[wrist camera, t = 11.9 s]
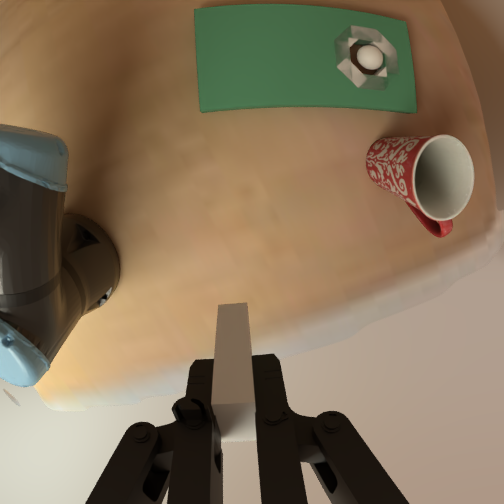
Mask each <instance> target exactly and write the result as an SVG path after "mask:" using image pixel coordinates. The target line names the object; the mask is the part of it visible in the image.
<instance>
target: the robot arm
mask: <svg viewBox="0 0 504 504" xmlns="http://www.w3.org/2000/svg"><path fill="white" fill-rule="evenodd" d="M67 164H68V148H67V146H66V144H65V142H64V141H63V140H62V139H61V138H59V137H57V136H55V135H52V134H49V133H45V132H41V131H37V130H33V129H28V128H23V127H17V126H11V125H4V124H0V378H2V379H3V380H5V381H7V382H9V383H11V384H13V385H16V386H20V387H28V386H33V385H35V384H36V383H37V382H38V381H39V380H40V379H41V377H42V376H43V375H44V374H45V373H46V371H48V370H49V368H50V364H51V362H52V361H53V359H54V357H55V356H56V354H57V353H58V351H59V350H60V348H61V346H62V345H63V343H64V342H65V340H66V339H67V337H68V336H69V334H70V333H71V331H72V330H73V328H74V327H75V325H76V324H77V322H78V321H79V319H80V318H81V317H82V316H84V315H85V314H87V313H89V312H91V311H93V310H95V309H97V308H99V307H100V306H102V305H103V304H104V303H105V302H106V301H107V300H108V299H109V298H110V296H111V295H112V293H113V292H114V290H115V289H116V287H117V284H118V281H119V274H120V267H119V260H118V256H117V252H116V250H115V247H114V245H113V243H112V242H111V240H110V238H109V237H108V235H107V234H106V233H105V232H104V230H103V229H102V228H101V227H100V226H98V225H97V224H96V223H95V222H93V221H92V220H90V219H88V218H86V217H84V216H81V215H77V214H64V215H63V211H64V201H65V192H66V191H67V184H66V177H67ZM187 384H188V385H187V389H186V396H185V397H183V398H181V399H179V400H178V401H176V403H174V405H173V407H172V411H173V414H174V416H175V418H176V421H174V422H173V423H170V424H167V425H163V426H159V427H155V426H154V425H152V424H150V423H148V422H138V423H135V424H133V425H131V426H130V427H129V428H128V429H127V430H126V432H125V434H124V436H123V437H122V439H121V441H120V443H119V445H118V446H117V448H116V450H115V451H114V453H113V455H112V457H111V458H110V460H109V462H108V464H107V466H106V467H105V469H104V471H103V473H102V474H101V476H100V478H99V480H98V482H97V483H96V485H95V487H94V489H93V491H92V492H91V494H90V496H89V498H88V500H87V501H86V503H85V504H162V501H163V499H164V497H165V494H166V491H167V489H168V487H169V491H168V500H167V504H223V453H222V449H221V440H222V442H239V441H255V440H257V452H258V465H259V477H260V489H261V502H262V504H308V502H307V496H306V491H305V485H304V480H303V474H302V469H301V463H300V462H307V463H310V465H311V467H312V469H313V470H314V472H315V474H316V476H317V478H318V480H319V482H320V483H321V485H322V487H323V489H324V491H325V492H326V494H327V496H328V498H329V499H330V501H331V503H332V504H409V503H408V501H407V500H406V498H405V497H404V496H403V494H402V493H401V492H400V490H399V489H398V487H397V486H396V485H395V484H394V482H393V481H392V479H391V478H390V477H389V475H388V474H387V472H386V471H385V470H384V469H383V467H382V466H381V464H380V463H379V461H378V460H377V459H376V457H375V456H374V454H373V453H372V452H371V450H370V449H369V447H368V446H367V445H366V443H365V442H364V440H363V439H362V438H361V436H360V435H359V433H358V432H357V430H356V429H355V428H354V426H353V425H352V424H351V422H350V421H349V419H348V418H347V417H346V416H345V415H344V414H342V413H340V412H337V411H327V412H323V413H322V414H320V415H318V416H317V417H316V418H315V417H307V416H302V415H299V414H297V413H295V412H294V411H292V410H291V409H290V407H289V405H288V402H287V397H286V391H285V387H284V381H283V376H282V371H281V365H280V361H279V359H278V358H277V357H276V356H275V355H274V354H265V355H254V356H252V350H251V338H250V327H249V317H248V306H247V303H236V304H223V305H218V315H217V327H216V340H215V354H214V359H201V360H195V361H194V363H193V364H192V365H191V367H190V370H189V378H188V383H187Z"/></svg>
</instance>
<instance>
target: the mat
mask: <svg viewBox="0 0 504 504" xmlns="http://www.w3.org/2000/svg"><path fill="white" fill-rule="evenodd" d="M194 17H195V40H196V58H197V74H198V89H199V103H200V111H201V112H202V113H206V112H215V111H225V110H237V109H252V108H272V107H335V108H355V109H369V110H380V111H390V112H399V113H407V114H410V113H417V103H416V90H415V79H414V70H413V62H412V54H411V48H410V41H409V35H408V30H407V25H406V22H405V21H401V20H397V19H393V18H389V17H384V16H380V15H375V14H370V13H365V12H359V11H353V10H347V9H339V8H331V7H322V6H311V5H295V4H243V5H227V6H216V7H207V8H199V9H194ZM353 44H356V45H363V46H365V45H371V46H374V47H376V48H378V49H379V50H380V51H381V53H382V55H383V63H382V65H381V66H380V67H379V68H377V69H378V70H377V71H376V72H375V73H374V74H373V75H368V74H362V73H361V72H360V71H359V70H358V69H357V68H356V67H355V66H354V65H353V64H352V63H351V58H350V49H349V47H351V46H352V45H353Z"/></svg>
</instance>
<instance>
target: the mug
mask: <svg viewBox="0 0 504 504" xmlns="http://www.w3.org/2000/svg"><path fill="white" fill-rule="evenodd" d="M366 167H367V171H368V174H369V176H370V178H371V179H372V180H373V182H375V183H376V184H377V185H378V186H380V187H381V188H383V189H385V190H387V191H389V192H391V193H392V194H394V195H396V196H398V197H399V198H401V199H403V200H405V202H406V203H407V205H408V206H409V207H410V209H411V210H412V212H413V213H414V214H415V215H416V217H417V218H418V219H419V221H420V222H421V223H422V224H423V225H424V226H425V228H426V229H427V230H428V231H429V232H430V233H432V234H433V235H435V236H436V237H440V238H441V237H444V236H446V235H447V234H449V233H450V232H451V230H452V227H453V223H452V218H454V217H455V216H457V215H458V214H459V213H460V212H461V211H462V210H463V209H464V208H465V206H466V205H467V203H468V201H469V199H470V197H471V194H472V191H473V186H474V167H473V162H472V159H471V156H470V154H469V152H468V150H467V148H466V147H465V146H464V144H463V143H462V142H461V141H460V140H458V139H457V138H455V137H453V136H451V135H447V134H440V135H436V136H416V137H388V138H382V139H380V140H378V141H376V142H375V143H374V144H373V145H372V146H371V147H370V149H369V151H368V153H367V158H366ZM437 221H438V222H439V223H437Z"/></svg>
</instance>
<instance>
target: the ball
mask: <svg viewBox="0 0 504 504" xmlns="http://www.w3.org/2000/svg"><path fill="white" fill-rule="evenodd" d="M357 60H358V62H359V63H360V65H361V66H363V67H364V68H366V69H370V70H374V69H377V68H379V67H380V66H381V65H382V63H383V55H382V53H381V51H380V50H379V49H378V48H376V47H374V46H371V45H365V46H363V47H361V48H360V49H359V50H358V52H357Z"/></svg>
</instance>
